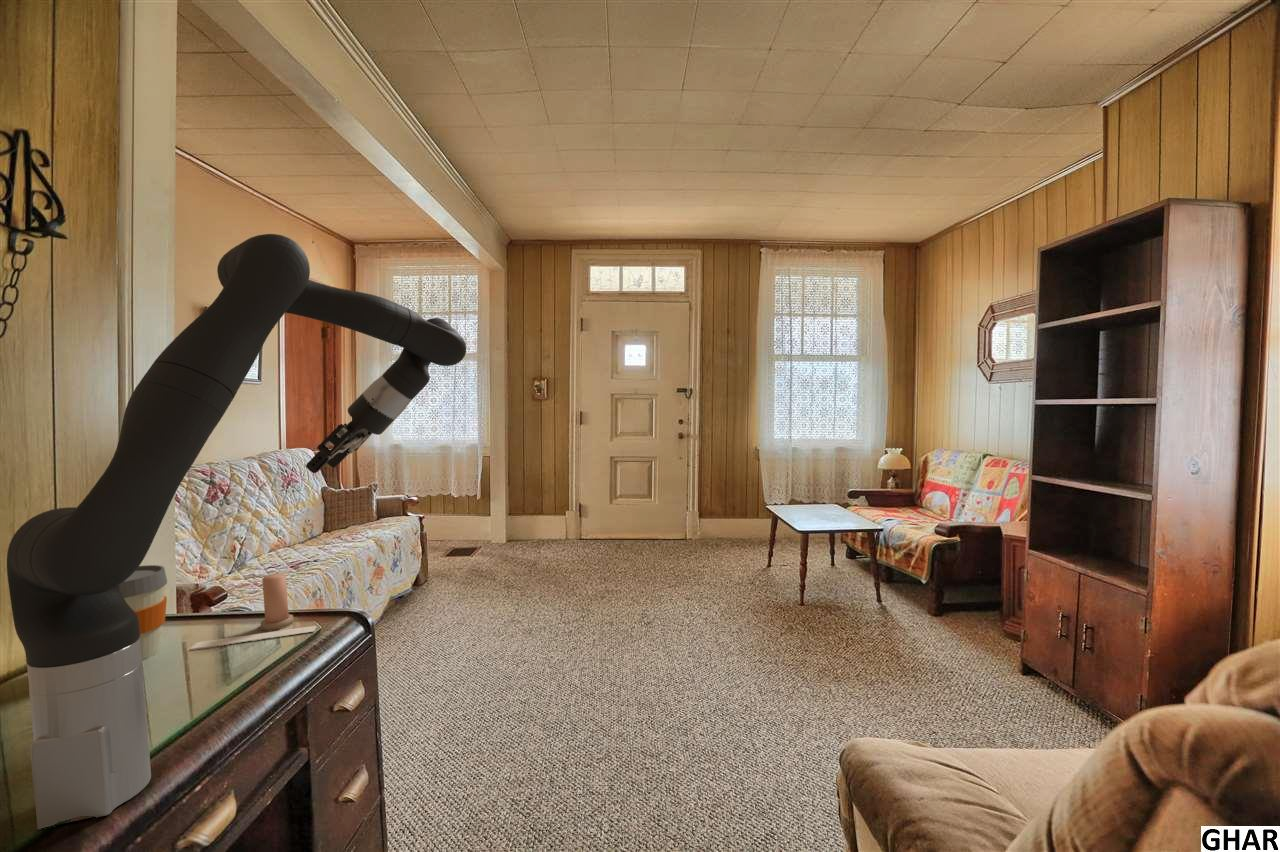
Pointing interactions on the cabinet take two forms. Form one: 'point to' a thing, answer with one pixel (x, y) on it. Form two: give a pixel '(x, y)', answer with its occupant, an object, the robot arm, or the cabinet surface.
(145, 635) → the reusable coffee cup
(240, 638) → the strip
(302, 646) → the cabinet surface
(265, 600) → the pin
